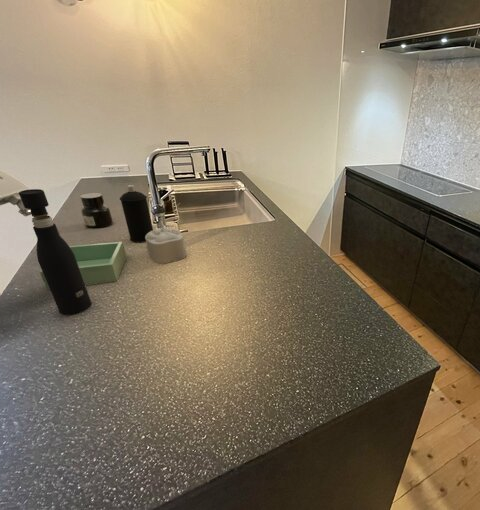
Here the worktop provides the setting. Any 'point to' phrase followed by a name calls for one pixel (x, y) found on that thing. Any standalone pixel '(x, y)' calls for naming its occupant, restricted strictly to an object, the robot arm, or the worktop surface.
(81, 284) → the black water bottle
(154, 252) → the lumpy-topped squat cylinder
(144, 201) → the aerosol can
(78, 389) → the worktop surface
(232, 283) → the worktop surface
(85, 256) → the green square tray
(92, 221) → the ink bottle
